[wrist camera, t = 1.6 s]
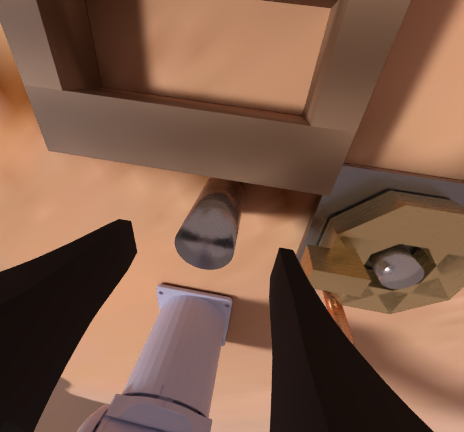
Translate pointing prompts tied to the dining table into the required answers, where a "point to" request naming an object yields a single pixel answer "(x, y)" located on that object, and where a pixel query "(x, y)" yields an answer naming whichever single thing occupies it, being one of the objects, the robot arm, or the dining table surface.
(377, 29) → the slot block
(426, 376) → the dining table surface
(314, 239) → the nut base
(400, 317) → the dining table surface
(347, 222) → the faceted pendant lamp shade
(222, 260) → the pin
